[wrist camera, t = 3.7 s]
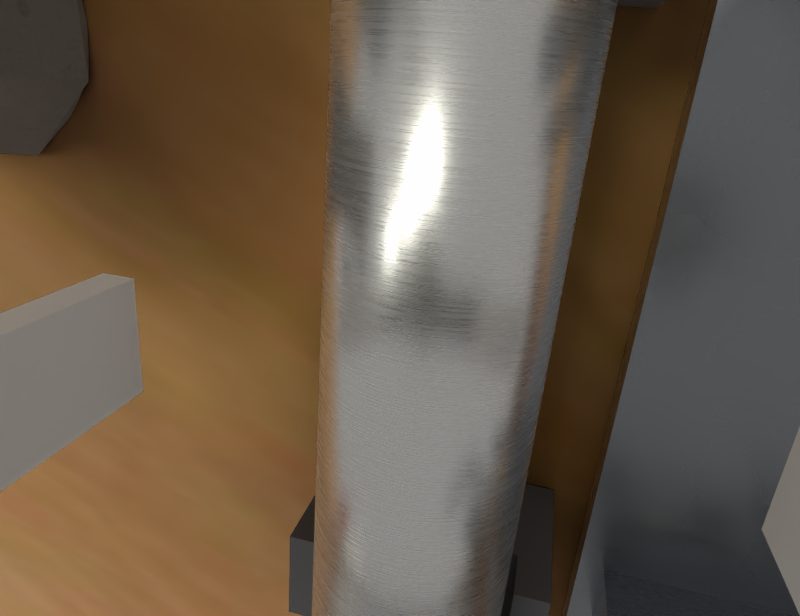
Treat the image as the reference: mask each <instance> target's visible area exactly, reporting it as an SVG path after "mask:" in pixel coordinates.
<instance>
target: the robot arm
mask: <svg viewBox="0 0 800 616" xmlns="http://www.w3.org/2000/svg"><path fill="white" fill-rule="evenodd" d="M142 392H143V384H142V371H141V359H140V347H139V334H138V322H137V310H136V297H135V285H134V278H128V277H123V276H117V275H112V274H106V273H102V274H100V275H97V276H94V277H92V278H89V279H87V280H84V281H82V282H79V283H76V284H74V285H71V286H69V287H66V288H64V289H61V290H58V291H56V292H53V293H51V294H48V295H46V296H43V297H40V298H38V299H35V300H33V301H30V302H28V303H25V304H22V305H20V306H17V307H15V308H12V309H10V310H7V311H4V312H2V313H0V492H1V491H2V490H4V489H5V488H7V487H8V486H9V485H11V484H12V483H14V482H15V481H17V480H18V479H19V478H21V477H22V476H24V475H25V474H27V473H28V472H29V471H31V470H32V469H34V468H35V467H36V466H38V465H39V464H41V463H42V462H44V461H45V460H46V459H48V458H49V457H51V456H52V455H54V454H55V453H56V452H58V451H59V450H61V449H62V448H63V447H65V446H66V445H68V444H69V443H71V442H72V441H73V440H75V439H76V438H78V437H79V436H81V435H82V434H83V433H85V432H86V431H88V430H89V429H90V428H92V427H93V426H95V425H96V424H98V423H99V422H100V421H102V420H103V419H105V418H106V417H108V416H109V415H110V414H112V413H113V412H115V411H116V410H117V409H119V408H120V407H122V406H123V405H125V404H126V403H127V402H129V401H130V400H132V399H133V398H135V397H136V396H137V395H139V394H140V393H142ZM762 531H763V534H764V536H765V538H766V540H767V543H768V545H769V547H770V549H771V552H772V554H773V556H774V559H775V561H776V563H777V565H778V568H779V570H780V572H781V574H782V577H783V579H784V581H785V583H786V586H787V588H788V590H789V592H790V595H791V597H792V599H793V601H794V604H795V606H796V608H797V610H798V613H799V615H800V427H799V430H798V432H797V435H796V438H795V440H794V443H793V446H792V448H791V451H790V454H789V456H788V459H787V462H786V465H785V467H784V470H783V473H782V475H781V478H780V481H779V483H778V486H777V489H776V491H775V494H774V497H773V499H772V502H771V505H770V508H769V510H768V513H767V516H766V518H765V521H764V524H763V526H762Z"/></svg>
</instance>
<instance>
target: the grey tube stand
mask: <svg viewBox="0 0 800 616" xmlns="http://www.w3.org/2000/svg"><path fill="white" fill-rule="evenodd" d="M799 427H800V0H710V1H709V5H708V9H707V13H706V17H705V22H704V26H703V30H702V34H701V38H700V42H699V46H698V51H697V55H696V59H695V63H694V67H693V71H692V75H691V80H690V84H689V88H688V92H687V96H686V100H685V104H684V109H683V113H682V117H681V121H680V125H679V129H678V134H677V138H676V142H675V146H674V150H673V154H672V158H671V163H670V167H669V171H668V175H667V179H666V183H665V187H664V192H663V196H662V200H661V204H660V208H659V212H658V216H657V221H656V225H655V229H654V233H653V237H652V241H651V245H650V250H649V254H648V258H647V262H646V266H645V270H644V274H643V279H642V283H641V287H640V291H639V295H638V299H637V304H636V308H635V312H634V316H633V320H632V324H631V328H630V333H629V337H628V341H627V345H626V349H625V353H624V357H623V362H622V366H621V370H620V374H619V378H618V382H617V386H616V391H615V395H614V399H613V403H612V407H611V411H610V415H609V420H608V424H607V428H606V432H605V436H604V440H603V445H602V449H601V453H600V457H599V461H598V465H597V469H596V474H595V478H594V482H593V486H592V490H591V494H590V498H589V503H588V507H587V511H586V515H585V519H584V523H583V527H582V532H581V536H580V540H579V544H578V548H577V552H576V556H575V561H574V565H573V569H572V573H571V577H570V581H569V585H568V590H567V594H566V598H565V602H564V606H563V610H562V615H561V616H800V615H799V613H798V610H797V608H796V606H795V604H794V601H793V599H792V597H791V595H790V592H789V590H788V588H787V586H786V583H785V581H784V579H783V577H782V574H781V572H780V570H779V568H778V565H777V563H776V561H775V559H774V556H773V554H772V552H771V549H770V547H769V545H768V543H767V540H766V538H765V536H764V534H763V531H762V526H763V524H764V521H765V518H766V516H767V513H768V510H769V508H770V505H771V502H772V499H773V497H774V494H775V491H776V489H777V486H778V483H779V481H780V478H781V475H782V473H783V470H784V467H785V465H786V462H787V459H788V456H789V454H790V451H791V448H792V446H793V443H794V440H795V438H796V435H797V432H798V430H799Z"/></svg>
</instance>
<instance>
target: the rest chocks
mask: <svg viewBox="0 0 800 616" xmlns="http://www.w3.org/2000/svg"><path fill="white" fill-rule="evenodd" d="M665 1H666V0H618V2H617V6H627V7H644V8H657V7H658V6H660V5H661V4H662V3H663V2H665ZM553 508H554V490H552V489H547V488H543V487H538V486H534V485H529V484H526V485H525V490H524V495H523V501H522V506H521V511H520V516H519V522H518V527H517V532H516V537H515V543H514V548H513V553H512V558H511V564H510V569H509V574H508V579H507V585H506V590H505V595H504V600H503V606H502V611H501V616H549V611H550V607H551V592H552V550H553ZM314 525H315V496H314V498H313V499H312V501H311V503H310V504H309V506H308V508H307V509H306V511H305V513H304V514H303V516H302V518H301V519H300V521H299V523H298V524H297V526H296V528H295V529H294V531H293V533H292V534H291V536H290V579H289V612H293V613H296V614H300V615H303V616H312V588H313V556H314Z"/></svg>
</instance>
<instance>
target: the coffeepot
mask: <svg viewBox="0 0 800 616" xmlns="http://www.w3.org/2000/svg"><path fill="white" fill-rule="evenodd" d="M88 81H89V47H88V31H87V20H86V15H85V11H84V6H83V1H82V0H0V153H2V154H19V155H36V156H38V155H39V154H40V153H41V151H42V150H43V149H44V148H45V147H46V145H47V144H48V143H49V142H50V141H51V139H52V138H53V137H54V136H55V135H56V133H57V132H58V131H59V130H60V129H61V128H62V127H63V126H64V124H65V123H66V122H67V121H68V120H69V119H70V117H71V115H72V113H73V111H74V109H75V107H76V105H77V103H78V101H79V100H80V96H81V93H82V90H83V89H84V87H85V86H86V84H87V83H88Z"/></svg>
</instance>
